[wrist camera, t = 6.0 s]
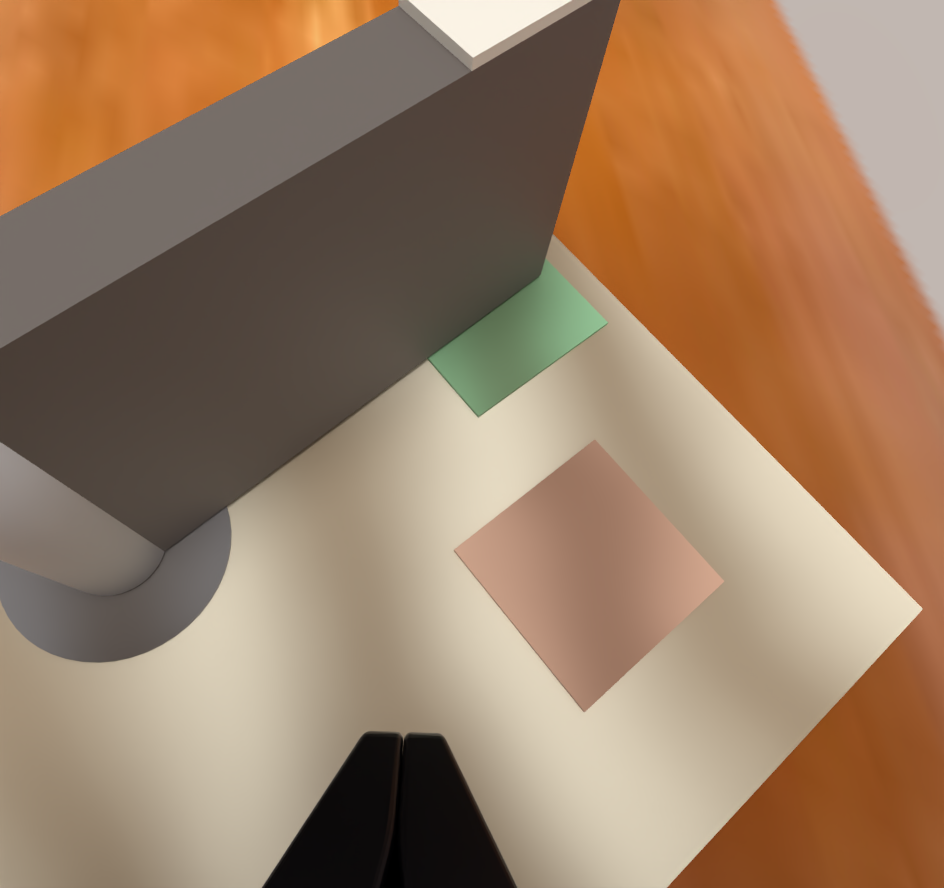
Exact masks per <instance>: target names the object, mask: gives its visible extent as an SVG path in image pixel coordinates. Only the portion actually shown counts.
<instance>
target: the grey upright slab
mask: <svg viewBox="0 0 944 888" xmlns="http://www.w3.org/2000/svg"><path fill="white" fill-rule="evenodd" d="M619 3H620V0H399V6H398V7H396V8H394V9H392V10H390V11H388V12H386V13H384V14H382V15H381V16H379V17H377V18H375V19H373V20H371V21H369V22H367V23H365V24H364V25H362V26H360V27H358V28H356V29H354V30H352V31H350V32H348V33H346V34H345V35H343V36H341V37H339V38H337V39H335V40H333V41H331V42H329V43H328V44H326V45H324V46H322V47H320V48H318V49H316V50H314V51H312V52H310V53H309V54H307V55H305V56H303V57H301V58H299V59H297V60H295V61H293V62H292V63H290V64H288V65H286V66H284V67H282V68H280V69H278V70H276V71H275V72H273V73H271V74H269V75H267V76H265V77H263V78H261V79H259V80H257V81H256V82H254V83H252V84H250V85H248V86H246V87H244V88H242V89H240V90H239V91H237V92H235V93H233V94H231V95H229V96H227V97H225V98H223V99H221V100H220V101H218V102H216V103H214V104H212V105H210V106H208V107H206V108H204V109H203V110H201V111H199V112H197V113H195V114H193V115H191V116H189V117H187V118H185V119H184V120H182V121H180V122H178V123H176V124H174V125H172V126H170V127H168V128H167V129H165V130H163V131H161V132H159V133H157V134H155V135H153V136H151V137H150V138H148V139H146V140H144V141H142V142H140V143H138V144H136V145H134V146H132V147H131V148H129V149H127V150H125V151H123V152H121V153H119V154H117V155H115V156H114V157H112V158H110V159H108V160H106V161H104V162H102V163H100V164H98V165H96V166H95V167H93V168H91V169H89V170H87V171H85V172H83V173H81V174H79V175H78V176H76V177H74V178H72V179H70V180H68V181H66V182H64V183H62V184H61V185H59V186H57V187H55V188H53V189H51V190H49V191H47V192H45V193H43V194H42V195H40V196H38V197H36V198H34V199H32V200H30V201H28V202H26V203H25V204H23V205H21V206H19V207H17V208H15V209H13V210H11V211H9V212H7V213H6V214H4V215H2V216H0V560H1V561H3V562H6V563H9V564H11V565H14V566H17V567H19V568H22V569H25V570H27V571H30V572H32V573H35V574H38V575H40V576H43V577H46V578H48V579H51V580H54V581H56V582H59V583H61V584H64V585H67V586H69V587H72V588H75V589H77V590H80V591H83V592H85V593H88V594H92V595H97V596H111V595H117V594H121V593H124V592H127V591H129V590H131V589H133V588H135V587H137V586H138V585H140V584H141V583H143V582H144V581H145V580H146V579H148V577H149V576H150V575H151V574H152V573H153V572H154V571H155V569H156V568H157V567H158V565H159V563H160V562H161V559H162V557H163V555H164V551H166V550H167V549H169V548H170V547H171V546H173V545H174V544H175V543H177V542H178V541H179V540H181V539H182V538H183V537H185V536H186V535H188V534H189V533H190V532H192V531H193V530H194V529H196V528H197V527H198V526H200V525H201V524H202V523H204V522H205V521H207V520H208V519H209V518H211V517H212V516H213V515H215V514H216V513H217V512H219V511H220V510H222V509H223V508H224V507H226V506H227V505H228V504H230V503H231V502H232V501H234V500H235V499H236V498H238V497H239V496H241V495H242V494H243V493H245V492H246V491H247V490H249V489H250V488H251V487H253V486H254V485H256V484H257V483H258V482H260V481H261V480H262V479H264V478H265V477H266V476H268V475H269V474H270V473H272V472H273V471H275V470H276V469H277V468H279V467H280V466H281V465H283V464H284V463H285V462H287V461H288V460H290V459H291V458H292V457H294V456H295V455H296V454H298V453H299V452H300V451H302V450H303V449H304V448H306V447H307V446H309V445H310V444H311V443H313V442H314V441H315V440H317V439H318V438H319V437H321V436H322V435H323V434H325V433H326V432H328V431H329V430H330V429H332V428H333V427H334V426H336V425H337V424H338V423H340V422H341V421H343V420H344V419H345V418H347V417H348V416H349V415H351V414H352V413H353V412H355V411H356V410H357V409H359V408H360V407H362V406H363V405H364V404H366V403H367V402H368V401H370V400H371V399H372V398H374V397H375V396H377V395H378V394H379V393H381V392H382V391H383V390H385V389H386V388H387V387H389V386H390V385H391V384H393V383H394V382H396V381H397V380H398V379H400V378H401V377H402V376H404V375H405V374H406V373H408V372H409V371H411V370H412V369H413V368H415V367H416V366H417V365H419V364H420V363H421V362H423V361H424V360H425V359H427V358H428V357H430V356H431V355H432V354H434V353H435V352H436V351H438V350H439V349H440V348H442V347H443V346H444V345H446V344H447V343H449V342H450V341H451V340H453V339H454V338H455V337H457V336H458V335H459V334H461V333H462V332H464V331H465V330H466V329H468V328H469V327H470V326H472V325H473V324H474V323H476V322H477V321H478V320H480V319H481V318H483V317H484V316H485V315H487V314H488V313H489V312H491V311H492V310H493V309H495V308H496V307H498V306H499V305H500V304H502V303H503V302H504V301H506V300H507V299H508V298H510V297H511V296H512V295H514V294H515V293H517V292H518V291H519V290H521V289H522V288H523V287H525V286H526V285H527V284H529V283H530V282H532V281H533V280H534V279H536V278H537V277H538V276H540V275H541V272H542V269H543V265H544V262H545V258H546V255H547V251H548V248H549V244H550V241H551V237H552V234H553V231H554V227H555V224H556V220H557V217H558V213H559V210H560V206H561V203H562V200H563V196H564V193H565V189H566V186H567V182H568V179H569V175H570V172H571V169H572V165H573V162H574V158H575V155H576V151H577V148H578V144H579V141H580V138H581V134H582V131H583V127H584V124H585V120H586V117H587V113H588V110H589V107H590V103H591V100H592V96H593V93H594V89H595V86H596V82H597V79H598V75H599V72H600V69H601V65H602V62H603V58H604V55H605V51H606V48H607V44H608V41H609V38H610V34H611V31H612V27H613V24H614V20H615V17H616V13H617V10H618V7H619Z"/></svg>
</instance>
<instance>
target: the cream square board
mask: <svg viewBox="0 0 944 888" xmlns="http://www.w3.org/2000/svg"><path fill="white" fill-rule="evenodd" d="M921 610H922V608H921V607H920V606H919V605H918V604H917V603H916V602H915V601H914V600H913V599H912V598H911V597H910V596H909V594H908V593H907V592H906V591H905V590H904V589H903V588H902V587H901V586H900V585H899V584H898V583H897V582H896V581H895V580H894V579H893V578H892V577H891V576H890V575H889V574H888V573H887V572H886V571H885V570H884V569H883V568H882V567H881V566H880V565H879V564H878V563H877V562H876V561H875V560H874V559H873V558H872V557H871V556H870V555H869V554H868V553H867V552H866V551H865V550H864V549H863V548H862V547H861V546H860V545H859V544H858V543H857V542H856V541H855V540H854V539H853V538H852V537H851V536H850V535H849V534H848V533H847V532H846V531H845V530H844V529H843V528H842V527H841V526H840V525H839V524H838V523H837V522H836V520H835V519H834V518H833V517H832V516H831V515H830V514H829V513H828V512H827V511H826V510H825V509H824V508H823V507H822V506H821V505H820V504H819V503H818V502H817V501H816V500H815V499H814V498H813V497H812V496H811V495H810V494H809V493H808V492H807V491H806V490H805V489H804V488H803V487H802V486H801V485H800V484H799V483H798V482H797V481H796V480H795V479H794V478H793V477H792V476H791V475H790V474H789V473H788V472H787V471H786V470H785V469H784V468H783V467H782V466H781V465H780V464H779V463H778V462H777V461H776V460H775V459H774V458H773V457H772V456H771V455H770V454H769V453H768V452H767V451H766V450H765V449H764V448H763V447H762V445H761V444H760V443H759V442H758V441H757V440H756V439H755V438H754V437H753V436H752V435H751V434H750V433H749V432H748V431H747V430H746V429H745V428H744V427H743V426H742V425H741V424H740V423H739V422H738V421H737V420H736V419H735V418H734V417H733V416H732V415H731V414H730V413H729V412H728V411H727V410H726V409H725V408H724V407H723V406H722V405H721V404H720V403H719V402H718V401H717V400H716V399H715V398H714V397H713V396H712V395H711V394H710V393H709V392H708V391H707V390H706V389H705V388H704V387H703V386H702V385H701V384H700V383H699V382H698V381H697V380H696V379H695V378H694V377H693V376H692V375H691V374H690V373H689V371H688V370H687V369H686V368H685V367H684V366H683V365H682V364H681V363H680V362H679V361H678V360H677V359H676V358H675V357H674V356H673V355H672V354H671V353H670V352H669V351H668V350H667V349H666V348H665V347H664V346H663V345H662V344H661V343H660V342H659V341H658V340H657V339H656V338H655V337H654V336H653V335H652V334H651V333H650V332H649V331H648V330H647V329H646V328H645V327H644V326H643V325H642V324H641V323H640V322H639V321H638V320H637V319H636V318H635V317H634V316H633V315H632V314H631V313H630V312H629V311H628V310H627V309H626V308H625V307H624V306H623V305H622V304H621V303H620V302H619V301H618V300H617V299H616V298H615V296H614V295H613V294H612V293H611V292H610V291H609V290H608V289H607V288H606V287H605V286H604V285H603V284H602V283H601V282H600V281H599V280H598V279H597V278H596V277H595V276H594V275H593V274H592V273H591V272H590V271H589V270H588V269H587V268H586V267H585V266H584V265H583V264H582V263H581V262H580V261H579V260H578V259H577V258H576V257H575V256H574V255H573V254H572V253H571V252H570V251H569V250H568V249H567V248H566V247H565V246H564V245H563V244H562V243H561V242H560V241H559V240H558V239H557V238H556V237H555V236H554V235H553V234H552V237H551V241H550V244H549V248H548V251H547V255H546V258H545V262H544V265H543V269H542V272H541V275H540V276H538V277H537V278H536V279H534V280H533V281H532V282H530V283H529V284H527V285H526V286H525V287H523V288H522V289H521V290H519V291H518V292H517V293H515V294H514V295H512V296H511V297H510V298H508V299H507V300H506V301H504V302H503V303H502V304H500V305H499V306H498V307H496V308H495V309H493V310H492V311H491V312H489V313H488V314H487V315H485V316H484V317H483V318H481V319H480V320H478V321H477V322H476V323H474V324H473V325H472V326H470V327H469V328H468V329H466V330H465V331H464V332H462V333H461V334H459V335H458V336H457V337H455V338H454V339H453V340H451V341H450V342H449V343H447V344H446V345H444V346H443V347H442V348H440V349H439V350H438V351H436V352H435V353H434V354H432V355H431V356H430V357H428V358H427V359H425V360H424V361H423V362H421V363H420V364H419V365H417V366H416V367H415V368H413V369H412V370H411V371H409V372H408V373H406V374H405V375H404V376H402V377H401V378H400V379H398V380H397V381H396V382H394V383H393V384H391V385H390V386H389V387H387V388H386V389H385V390H383V391H382V392H381V393H379V394H378V395H377V396H375V397H374V398H372V399H371V400H370V401H368V402H367V403H366V404H364V405H363V406H362V407H360V408H359V409H357V410H356V411H355V412H353V413H352V414H351V415H349V416H348V417H347V418H345V419H344V420H343V421H341V422H340V423H338V424H337V425H336V426H334V427H333V428H332V429H330V430H329V431H328V432H326V433H325V434H323V435H322V436H321V437H319V438H318V439H317V440H315V441H314V442H313V443H311V444H310V445H309V446H307V447H306V448H304V449H303V450H302V451H300V452H299V453H298V454H296V455H295V456H294V457H292V458H291V459H290V460H288V461H287V462H285V463H284V464H283V465H281V466H280V467H279V468H277V469H276V470H275V471H273V472H272V473H270V474H269V475H268V476H266V477H265V478H264V479H262V480H261V481H260V482H258V483H257V484H256V485H254V486H253V487H251V488H250V489H249V490H247V491H246V492H245V493H243V494H242V495H241V496H239V497H238V498H236V499H235V500H234V501H232V502H231V503H230V504H228V505H227V506H226V507H224V508H223V509H222V510H220V511H219V512H217V513H216V514H215V515H213V516H212V517H211V518H209V519H208V520H207V521H205V522H204V523H202V524H201V525H200V526H198V527H197V528H196V529H194V530H193V531H192V532H190V533H189V534H188V535H186V536H185V537H183V538H182V539H181V540H179V541H178V542H177V543H175V544H174V545H173V546H171V547H170V548H169V549H167V550H166V551H164V555H163V557H162V559H161V562H160V563H159V565H158V567H157V568H156V569H155V571H154V572H153V573H152V574H151V575H150V576H149V577H148V579H146V580H145V581H144V582H143V583H141V584H140V585H138V586H137V587H135V588H133V589H131V590H129V591H127V592H124V593H121V594H117V595H111V596H97V595H92V594H88V593H85V592H83V591H80V590H77V589H75V588H72V587H69V586H67V585H64V584H61V583H59V582H56V581H54V580H51V579H48V578H46V577H43V576H40V575H38V574H35V573H32V572H30V571H27V570H25V569H22V568H19V567H17V566H14V565H11V564H9V563H6V562H3V561H1V560H0V888H262V886H263V885H264V883H265V882H266V880H267V879H268V877H269V876H270V874H271V873H272V871H273V870H274V868H275V866H276V865H277V863H278V862H279V860H280V859H281V857H282V856H283V854H284V853H285V851H286V850H287V848H288V847H289V845H290V844H291V842H292V841H293V839H294V838H295V836H296V834H297V833H298V831H299V830H300V828H301V827H302V825H303V824H304V822H305V821H306V819H307V818H308V816H309V815H310V813H311V812H312V810H313V809H314V807H315V806H316V804H317V802H318V801H319V799H320V798H321V796H322V795H323V793H324V792H325V790H326V789H327V787H328V786H329V784H330V783H331V781H332V780H333V778H334V777H335V775H336V773H337V772H338V770H339V769H340V767H341V766H342V764H343V763H344V761H345V760H346V758H347V757H348V755H349V754H350V752H351V751H352V749H353V748H354V746H355V745H356V743H357V741H358V740H359V738H360V737H361V736H362V735H363V734H364V733H365V732H367V731H390V732H399V733H401V734H402V736H403V742H404V737H405V735H406V734H407V733H409V732H423V733H440V734H442V735H443V736H444V737H445V739H446V740H447V742H448V744H449V746H450V748H451V750H452V753H453V755H454V757H455V759H456V761H457V763H458V765H459V767H460V769H461V771H462V773H463V775H464V777H465V779H466V781H467V784H468V786H469V788H470V790H471V792H472V794H473V796H474V798H475V800H476V802H477V804H478V806H479V808H480V810H481V812H482V815H483V817H484V819H485V821H486V823H487V825H488V827H489V829H490V831H491V833H492V835H493V837H494V839H495V841H496V843H497V846H498V848H499V850H500V852H501V854H502V856H503V858H504V860H505V862H506V864H507V866H508V868H509V870H510V872H511V875H512V877H513V879H514V881H515V883H516V885H517V887H518V888H667V887H668V886H669V885H670V884H671V882H672V881H673V880H674V879H675V878H676V877H677V876H678V875H679V874H680V873H681V872H682V870H683V869H684V868H685V867H686V866H687V865H688V864H689V863H690V862H691V861H692V860H693V858H694V857H695V856H696V855H697V854H698V853H699V852H700V851H701V850H702V849H703V848H704V847H705V845H706V844H707V843H708V842H709V841H710V840H711V839H712V838H713V837H714V836H715V835H716V833H717V832H718V831H719V830H720V829H721V828H722V827H723V826H724V825H725V824H726V823H727V822H728V820H729V819H730V818H731V817H732V816H733V815H734V814H735V813H736V812H737V811H738V810H739V808H740V807H741V806H742V805H743V804H744V803H745V802H746V801H747V800H748V799H749V798H750V796H751V795H752V794H753V793H754V792H755V791H756V790H757V789H758V788H759V787H760V786H761V785H762V783H763V782H764V781H765V780H766V779H767V778H768V777H769V776H770V775H771V774H772V773H773V771H774V770H775V769H776V768H777V767H778V766H779V765H780V764H781V763H782V762H783V761H784V760H785V758H786V757H787V756H788V755H789V754H790V753H791V752H792V751H793V750H794V749H795V748H796V746H797V745H798V744H799V743H800V742H801V741H802V740H803V739H804V738H805V737H806V736H807V734H808V733H809V732H810V731H811V730H812V729H813V728H814V727H815V726H816V725H817V724H818V723H819V721H820V720H821V719H822V718H823V717H824V716H825V715H826V714H827V713H828V712H829V711H830V709H831V708H832V707H833V706H834V705H835V704H836V703H837V702H838V701H839V700H840V699H841V698H842V696H843V695H844V694H845V693H846V692H847V691H848V690H849V689H850V688H851V687H852V686H853V684H854V683H855V682H856V681H857V680H858V679H859V678H860V677H861V676H862V675H863V674H864V672H865V671H866V670H867V669H868V668H869V667H870V666H871V665H872V664H873V663H874V662H875V661H876V659H877V658H878V657H879V656H880V655H881V654H882V653H883V652H884V651H885V650H886V649H887V647H888V646H889V645H890V644H891V643H892V642H893V641H894V640H895V639H896V638H897V637H898V636H899V634H900V633H901V632H902V631H903V630H904V629H905V628H906V627H907V626H908V625H909V624H910V622H911V621H912V620H913V619H914V618H915V617H916V616H917V615H918V614H919V613H920V612H921Z"/></svg>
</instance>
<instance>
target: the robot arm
mask: <svg viewBox="0 0 944 888" xmlns="http://www.w3.org/2000/svg"><path fill="white" fill-rule="evenodd" d="M262 888H518V887H517V885H516V883H515V881H514V879H513V877H512V875H511V872H510V870H509V868H508V866H507V864H506V862H505V860H504V858H503V856H502V854H501V852H500V850H499V848H498V846H497V843H496V841H495V839H494V837H493V835H492V833H491V831H490V829H489V827H488V825H487V823H486V821H485V819H484V817H483V815H482V812H481V810H480V808H479V806H478V804H477V802H476V800H475V798H474V796H473V794H472V792H471V790H470V788H469V786H468V784H467V781H466V779H465V777H464V775H463V773H462V771H461V769H460V767H459V765H458V763H457V761H456V759H455V757H454V755H453V753H452V750H451V748H450V746H449V744H448V742H447V740H446V739H445V737H444V736H443V735H442V734H440V733H423V732H409V733H407V734H406V735H405V737H404V742H403V736H402V734H401V733H399V732H390V731H367V732H365V733H364V734H363V735H362V736H361V737H360V738H359V740H358V741H357V743H356V745H355V746H354V748H353V749H352V751H351V752H350V754H349V755H348V757H347V758H346V760H345V761H344V763H343V764H342V766H341V767H340V769H339V770H338V772H337V773H336V775H335V777H334V778H333V780H332V781H331V783H330V784H329V786H328V787H327V789H326V790H325V792H324V793H323V795H322V796H321V798H320V799H319V801H318V802H317V804H316V806H315V807H314V809H313V810H312V812H311V813H310V815H309V816H308V818H307V819H306V821H305V822H304V824H303V825H302V827H301V828H300V830H299V831H298V833H297V834H296V836H295V838H294V839H293V841H292V842H291V844H290V845H289V847H288V848H287V850H286V851H285V853H284V854H283V856H282V857H281V859H280V860H279V862H278V863H277V865H276V866H275V868H274V870H273V871H272V873H271V874H270V876H269V877H268V879H267V880H266V882H265V883H264V885H263V886H262Z"/></svg>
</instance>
